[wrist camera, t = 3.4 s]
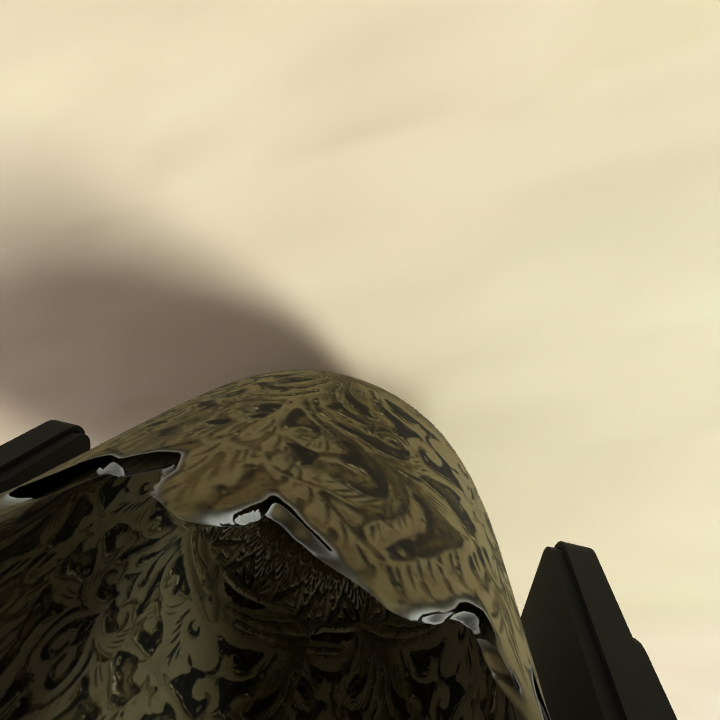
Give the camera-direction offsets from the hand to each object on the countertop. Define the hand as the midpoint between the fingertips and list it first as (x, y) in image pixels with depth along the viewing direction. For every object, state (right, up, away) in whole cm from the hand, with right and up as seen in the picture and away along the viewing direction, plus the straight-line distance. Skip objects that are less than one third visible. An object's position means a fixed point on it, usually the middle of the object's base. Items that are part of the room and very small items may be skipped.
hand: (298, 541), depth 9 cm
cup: (+1, +2, +3) cm, 3 cm away
